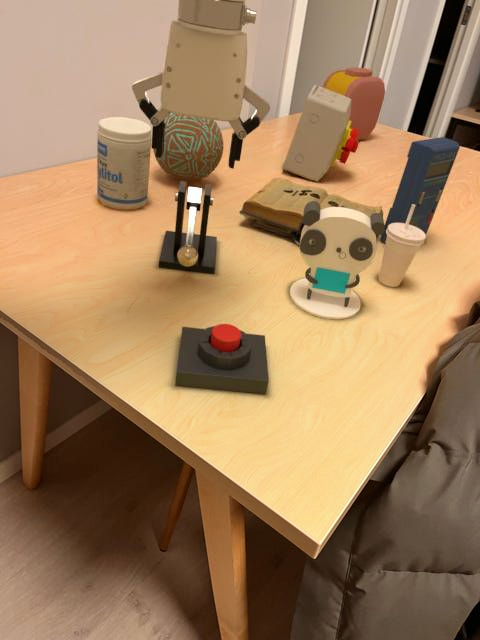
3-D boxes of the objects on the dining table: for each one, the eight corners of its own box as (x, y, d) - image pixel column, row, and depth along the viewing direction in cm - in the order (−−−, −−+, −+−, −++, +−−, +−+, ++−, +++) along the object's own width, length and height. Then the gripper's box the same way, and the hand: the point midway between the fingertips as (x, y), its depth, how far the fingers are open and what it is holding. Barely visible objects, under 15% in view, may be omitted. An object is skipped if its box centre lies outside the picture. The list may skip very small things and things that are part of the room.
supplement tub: (87, 203, 100) (86, 124, 91) (112, 187, 107) (113, 112, 99) (134, 216, 98) (136, 136, 90) (156, 199, 106) (160, 124, 97)
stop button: (209, 351, 64) (211, 339, 63) (210, 333, 66) (212, 322, 65) (239, 354, 64) (241, 343, 63) (239, 336, 67) (241, 325, 66)
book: (378, 232, 108) (387, 205, 105) (362, 265, 95) (371, 236, 92) (265, 198, 114) (270, 172, 111) (235, 225, 101) (240, 196, 98)
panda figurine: (282, 309, 80) (303, 218, 71) (288, 273, 89) (307, 188, 80) (361, 325, 79) (391, 236, 71) (358, 287, 89) (385, 204, 80)
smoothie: (393, 270, 95) (419, 197, 87) (414, 289, 91) (444, 214, 83) (363, 272, 93) (388, 198, 85) (384, 292, 88) (411, 215, 80)
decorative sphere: (137, 171, 116) (140, 100, 108) (191, 162, 125) (197, 96, 117) (177, 197, 108) (184, 122, 100) (232, 186, 117) (242, 117, 109)
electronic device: (398, 251, 102) (435, 149, 91) (377, 240, 105) (410, 139, 94) (425, 242, 108) (463, 144, 96) (405, 231, 111) (439, 135, 99)
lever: (196, 270, 82) (197, 262, 79) (175, 268, 81) (176, 259, 78) (204, 198, 86) (205, 187, 83) (184, 195, 86) (185, 184, 82)
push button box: (175, 385, 63) (177, 360, 61) (181, 339, 70) (183, 315, 68) (265, 394, 64) (271, 369, 62) (262, 348, 71) (267, 324, 69)
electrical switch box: (337, 196, 127) (373, 114, 116) (279, 173, 128) (309, 90, 116) (343, 177, 139) (376, 101, 127) (290, 156, 140) (318, 79, 128)
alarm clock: (348, 129, 172) (364, 64, 161) (374, 140, 166) (393, 73, 154) (309, 133, 161) (324, 64, 150) (336, 145, 155) (354, 74, 144)
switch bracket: (214, 274, 85) (223, 206, 79) (158, 267, 85) (162, 198, 78) (215, 242, 94) (224, 179, 88) (165, 236, 94) (169, 171, 87)
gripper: (281, 23, 65) (257, 160, 75) (140, -1, 63) (134, 142, 73) (286, 31, 59) (260, 179, 69) (130, 4, 57) (125, 159, 67)
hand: (195, 159), depth 71 cm, fingers open, 9 cm apart
